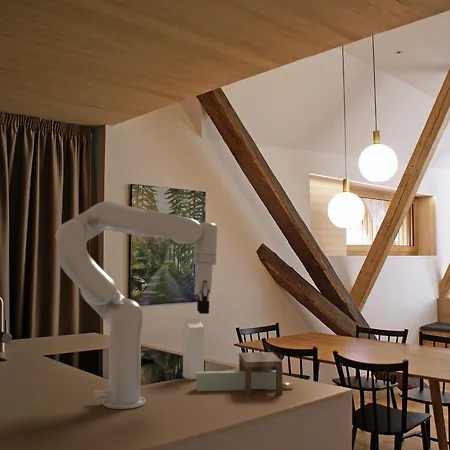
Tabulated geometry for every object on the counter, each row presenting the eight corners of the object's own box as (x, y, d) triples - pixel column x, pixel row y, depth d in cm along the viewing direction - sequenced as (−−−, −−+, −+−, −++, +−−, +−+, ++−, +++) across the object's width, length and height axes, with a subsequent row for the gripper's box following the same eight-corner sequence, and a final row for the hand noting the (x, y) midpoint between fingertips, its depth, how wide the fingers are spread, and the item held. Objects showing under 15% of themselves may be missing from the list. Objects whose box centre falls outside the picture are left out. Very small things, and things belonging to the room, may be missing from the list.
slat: (196, 391, 176) (196, 373, 177) (196, 389, 179) (196, 371, 180) (279, 389, 179) (279, 371, 179) (277, 387, 182) (277, 370, 182)
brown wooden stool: (245, 395, 170) (245, 362, 171) (239, 382, 188) (239, 352, 189) (282, 394, 171) (282, 361, 172) (272, 382, 189) (272, 352, 190)
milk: (182, 376, 199) (182, 317, 200) (197, 375, 202) (197, 316, 203) (189, 379, 193) (189, 319, 195) (204, 378, 196) (204, 318, 198)
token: (280, 390, 178) (280, 385, 178) (277, 387, 183) (277, 381, 183) (294, 390, 178) (294, 384, 178) (291, 386, 183) (291, 381, 183)
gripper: (192, 260, 182) (190, 310, 181) (194, 259, 165) (192, 314, 164) (213, 261, 183) (212, 310, 181) (218, 260, 166) (216, 314, 164)
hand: (202, 312), depth 173 cm, fingers open, 9 cm apart
